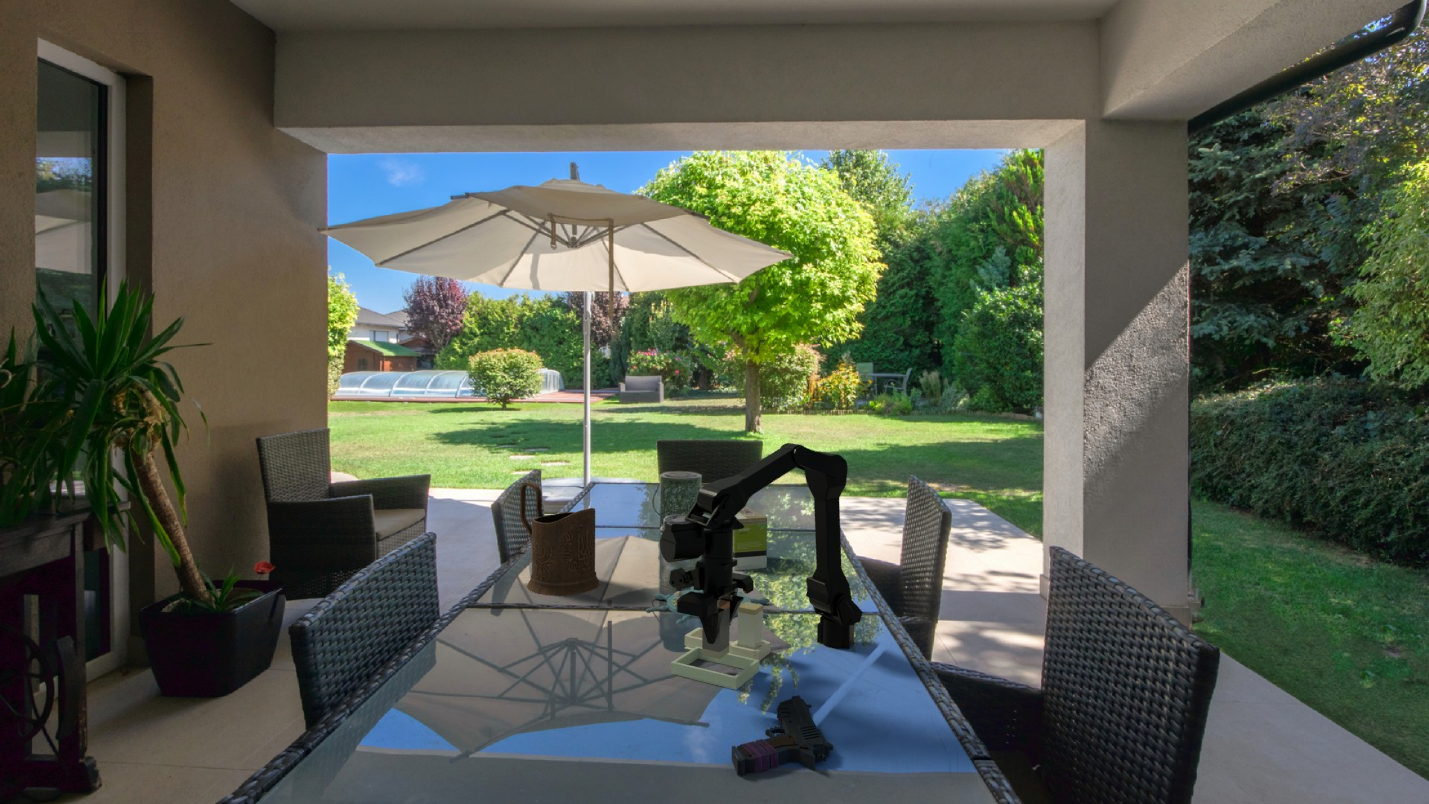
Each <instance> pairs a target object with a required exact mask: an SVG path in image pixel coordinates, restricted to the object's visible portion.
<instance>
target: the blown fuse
mask: <svg viewBox="0 0 1429 804" xmlns="http://www.w3.org/2000/svg"><path fill="white" fill-rule="evenodd" d="M719 608H722V609H725V610H724V613H723V617H722V620H721V623H720V627H719V630H718V633H717V636H716V639H715V642H714V644H709V643H708V642H707V639H706V636H705V633H704V629H703V626H702V625H701V626H702V627H701V628H702V655H704V656H709V657H713V658H718V659H720V658H722V657H723V656H725V655H726V654H728V653H729V641H730V629H731V628H730V601H724V600H720V601H719Z"/></svg>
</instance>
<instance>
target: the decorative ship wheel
mask: <svg viewBox="0 0 1429 804" xmlns="http://www.w3.org/2000/svg"><path fill="white" fill-rule="evenodd" d="M690 591H693V592H698V593H703V590H700V591H698V590H694V586H693V587H690V589H685V590H681V591H676V592H674V593H673V594H667V595H666V594H663V593H655V594H654V598H655V599H657V600H659V601H661V600H663V601H664V600H665V601H666V605H660V607H655V606H651V607H649V608H646V609H645V612H646V613H647V614H651V613H652V612H655V611H658V610H660V611H661V610H664V611H665V610H670V611H671V612H672V613H675V614H677V615H680V616H682V617H681V618H680V619H677V620H676V622H675V624H677V625H678V624H682V623H684V622H685V621H686V620H690V619H691V618H692V619H693V618H694V619H700V618H699V617H698V616H693V615H688V614H683V613H678V612H677V611H676V602H677V600H678V599H679V598H680V597H681V596H682V595H684V594H686V593H688V592H690ZM738 591H739V588H736V592H737V596H742V597H744V599H743V601H742V602H741V604H740V606H741V605H742V604H744V603H746V602H750V603H755V604H761V605H765V604H768V603H769V602H770V599H769V598H767V597H761V598H759V599H758V598H754V597H752V598H751V597H750V596H747V595H746V594H745V593H744V594H743V593H741V592H738ZM734 617H738V610H737V612H736V613H735V615H734ZM767 618H769V614H768V613H766V612H764V611H763V619H767ZM731 624H732V623H731ZM731 624H730V626H731Z"/></svg>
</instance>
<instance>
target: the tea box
mask: <svg viewBox="0 0 1429 804" xmlns="http://www.w3.org/2000/svg"><path fill="white" fill-rule="evenodd" d="M735 516H736V518H737V519H738V521H739V522H740V523H742V524H743V525H744V528H743V529H737V530H733V559H736V560H737V566H735V567H733V572H734V571H746V570H747V571H748V570H749V571H750V570H761V569H767V564H768V563H767V562H768V559H767V558H768V557H767V556H768V555H767V554H768V546H767V545H768V542H767V541H768V517H766V516H765V515H763V514H762V513H760V512H758V511H757V510H755V509H753V508H751V507H750V506H749V507H748V506H745V507H744V508H743V509H742V510H741V511H740V512H739V513H737V514H736V515H735Z"/></svg>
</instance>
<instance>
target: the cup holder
mask: <svg viewBox="0 0 1429 804" xmlns="http://www.w3.org/2000/svg"><path fill="white" fill-rule="evenodd" d="M527 487H530V488H532V489H533V491H534V492H535V495H536V496H535V497H536V498H535V501H536V502H535V507H536V508H535V512H536V516H537V517H535V518H533V519H531V525H530V523H529V521H528V520H527V517H526V515H527V514H526V512H527V511H526V505H527V503H526V501H527V500H526V499H527V498H526V497H527V496H526V495H527V493H526V491H527ZM542 499H543V495H542V490H541V488H540V487H539V485H537V484H536V483H534V482H526V483H523V484H522V485H521V486H520V490H519V509H520V510H519V512H520V513H519V515H520V516H519V517H520V521H521V524H522V525H523V527H524V529H525V530H526V532H527V533H528V535H529V536H530V538H531V575H530V580H529V581H528V583H527V585H526V589H527V588H528V589H527V590H528V591H529V590H530V591H529V592H531V591H532V592H531V593H533V592H534V594H537V595H541V594H542V595H544V596H554V597H557V596H558V597H559V596H561V597H565V596H575V595H581V594H585V593H590V592H592V591H595V590H597V589H599V588H600V586H601V582H600V580H599V578H598V576H597V572H596V508H594V507H590V508H585V509H581V510H577V511H567V512H565V511H564V512H559V513H554V514H553V513H552V514H549V515H548V514H547V515H544V514H543V503H542V502H543V501H542Z"/></svg>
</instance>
